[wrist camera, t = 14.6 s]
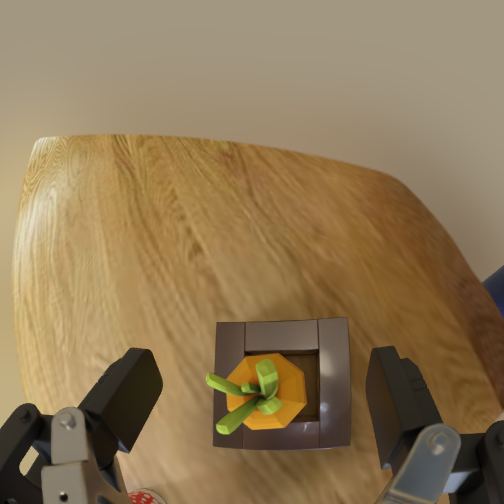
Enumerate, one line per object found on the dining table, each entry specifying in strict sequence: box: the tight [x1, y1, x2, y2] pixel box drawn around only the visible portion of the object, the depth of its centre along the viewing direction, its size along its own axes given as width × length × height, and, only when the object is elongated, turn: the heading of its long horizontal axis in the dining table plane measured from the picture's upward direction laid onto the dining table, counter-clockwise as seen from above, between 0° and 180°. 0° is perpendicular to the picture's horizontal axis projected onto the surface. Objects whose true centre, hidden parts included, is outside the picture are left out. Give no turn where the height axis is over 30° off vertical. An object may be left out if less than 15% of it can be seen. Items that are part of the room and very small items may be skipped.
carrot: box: [206, 353, 307, 434], centre depth 17 cm, size 5×5×15 cm
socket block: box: [213, 317, 351, 450], centre depth 22 cm, size 11×11×4 cm
